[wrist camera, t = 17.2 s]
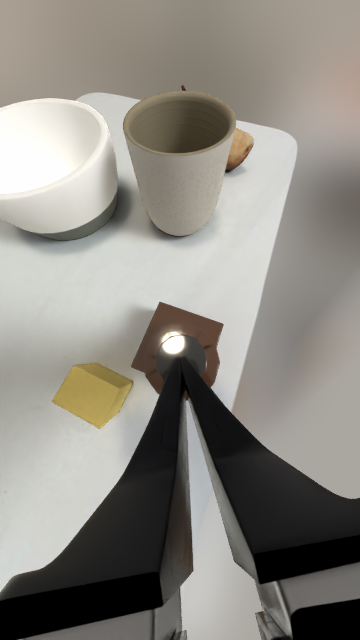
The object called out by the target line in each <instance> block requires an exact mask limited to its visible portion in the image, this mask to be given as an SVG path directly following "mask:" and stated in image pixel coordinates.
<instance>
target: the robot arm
mask: <svg viewBox="0 0 360 640" xmlns="http://www.w3.org/2000/svg"><path fill="white" fill-rule="evenodd" d="M185 390H186V394H187V397H188V401H189V404H190V408H191V411H192V415H193V418H194V422H195V425H196V429H197V432H198V436H199V439H200V443H201V446H202V450H203V453H204V457H205V460H206V464H207V467H208V471H209V474H210V477H211V481H212V485H213V488H214V492H215V495H216V499H217V502H218V506H219V509H220V513H221V516H222V520H223V523H224V527H225V531H226V534H227V537H228V541H229V545H230V548H231V551H232V555H233V559H234V561H235V563H237V564H238V565H239V566H240V567H241V568H242V569H244V571H246V572H247V573H248V574H249V575H250V576H252V578H253V579H254V580H255V583H256V587H257V590H258V594H259V598H260V601H261V605H262V609H263V611H262V612H258V613H255V615H256V619H257V623H258V627H259V631H260V635H261V639H262V640H360V498H357V499H348V498H344V497H341V496H339V495H336V494H334V493H332V492H331V491H329V490H327V489H326V488H324V487H322V486H321V485H319V484H318V483H317V482H315V481H314V480H312V479H310V478H309V477H308V476H306V475H305V474H303V473H302V472H300V471H299V470H297V469H296V468H294V467H293V466H291V465H290V464H288V463H287V462H285V461H284V460H282V459H281V458H279V457H278V456H277V455H275V454H274V453H272V452H271V451H269V450H268V449H267V448H266V447H265V446H263V445H262V444H261V443H260V442H259V441H258V440H257V439H256V438H255V437H254V436H253V435H252V434H251V433H250V432H249V431H248V430H247V429H246V428H245V427H244V426H243V425H242V424H241V423H240V422H239V420H238V419H236V417H235V416H234V415H233V414H232V413H231V412H230V411H229V410H228V409H227V408H226V407H225V405H224V404H223V403H222V402H221V400H220V399H219V398H218V397H217V395H216V394H215V393H214V392H213V390H212V389H211V388H210V387H209V385H208V384H207V383H206V381H205V380H204V379H203V378H202V376H201V375H200V374H199V372H198V371H197V370H196V369H195V367H194V366H193V365H192V363H191V362H190V361H189V360H188V358H187V357H186V356H181V357H176V358H174V359H173V361H172V364H171V367H170V369H169V372H168V374H167V377H166V380H165V382H164V385H163V388H162V390H161V393H160V395H159V398H158V401H157V403H156V406H155V408H154V411H153V414H152V416H151V418H150V421H149V423H148V425H147V427H146V430H145V432H144V434H143V436H142V438H141V440H140V442H139V444H138V446H137V448H136V450H135V452H134V454H133V456H132V458H131V460H130V462H129V464H128V466H127V468H126V470H125V471H124V473H123V475H122V476H121V478H120V479H119V481H118V482H117V484H116V485H115V486H114V488H113V489H112V490H111V492H110V493H109V494H108V495H107V497H106V498H105V499H104V500H103V502H102V503H101V504H100V505H99V507H98V508H97V509H96V511H95V512H94V513H93V514H92V516H91V517H90V518H89V519H88V521H87V522H86V523H85V524H84V526H83V527H82V528H81V529H80V531H79V532H78V533H77V535H76V536H75V537H74V538H73V540H72V541H71V542H70V543H69V545H68V546H67V547H66V548H65V549H64V550H63V552H62V553H61V554H60V555H59V556H58V557H56V558H55V559H54V560H53V561H52V562H51V563H49V564H48V565H47V566H45V567H44V568H41V569H39V570H35V571H31V572H26V573H22V574H18V575H16V576H14V577H12V578H11V579H10V580H9V582H8V583H7V584H6V586H5V587H4V588H3V589H2V591H1V592H0V640H187V632H186V630H184V631H182V617H181V597H180V586H181V585H182V584H183V583H184V581H185V580H186V579H187V578H188V577H189V575H190V574H191V573H192V572H193V552H192V529H191V507H190V485H189V463H188V440H187V418H186V396H185Z"/></svg>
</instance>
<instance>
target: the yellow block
mask: <svg viewBox="0 0 360 640" xmlns="http://www.w3.org/2000/svg"><path fill="white" fill-rule="evenodd" d="M132 384H133V381H131V380H129V379H127V378H125V377H123V376H121V375H119V374H117V373H115V372H113V371H111V370H109V369H107V368H105V367H103V366H101V365H99V364H97V363H92V364H81V365H74V366H73V367H72V369H71V371H70V372H69V374H68V376H67V377H66V379H65V381H64V382H63V384H62V386H61V387H60V389H59V391H58V392H57V394H56V396H55V397H54V399H53V401H52V402H53V403H55V404H57V405H59V406H60V407H62V408H64V409H66V410H67V411H69V412H71V413H73V414H74V415H76V416H78V417H80V418H81V419H83V420H85V421H87V422H88V423H90V424H92V425H94V426H95V427H97V428H99V429H100V428H102V427H103V426H104V425H105V424H106V423H107V422H108V421H109V420H110V419H112V418H113V417H114V416H115V415H116V414H117V413H118V412H119V410H120V408H121V406H122V404H123V402H124V400H125V398H126V396H127V394H128V392H129V390H130V388H131V386H132Z"/></svg>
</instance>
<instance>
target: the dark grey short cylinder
mask: <svg viewBox="0 0 360 640" xmlns="http://www.w3.org/2000/svg"><path fill="white" fill-rule="evenodd" d="M181 356H186V357H187V358H188V360H189V361H190V362H191V363H192V365H193V366H194V367H195V369H196V370H197V371H198V372H199V374H200V375H201V376H203V374H204V372H205V369H206V363H207V360H206V354H205V351H204V349H203V347H202V346H201V344H200V343H199V342H198V341H197V340H195V339H194V338H192V337H190V336H186V335H176V336H173V337H170V338H169V339H167V340H166V341H165V342H164V343H163V344H162V345H161V346H160V348H159V350H158V352H157V356H156V366H157V370H158V373H159V375H160V376H161V378H162V379H163V380H164V381H165V380H166V377H167V374H168V372H169V369H170V367H171V364H172V361H173V359H174V358H176V357H181Z"/></svg>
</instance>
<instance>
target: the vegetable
mask: <svg viewBox="0 0 360 640" xmlns="http://www.w3.org/2000/svg"><path fill="white" fill-rule="evenodd" d="M181 87H182V91H186V90H185V88H184V86H183V85H182V86H181ZM253 145H254V140H253V138H252V136H251V135H250V134H248V133H246V132H244V131H242V130H240V129H238V128H236V127H235V132H234V136H233V140H232V145H231V149H230V153H229V157H228V161H227V165H226V169H225V170H232V169H235V168H236V167H238V166H239V165H240V164H241V163H242V162H243V161H244V159H245V158H246V157H247V155H248V154H249V152H250V150H251V149H252V147H253Z"/></svg>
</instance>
